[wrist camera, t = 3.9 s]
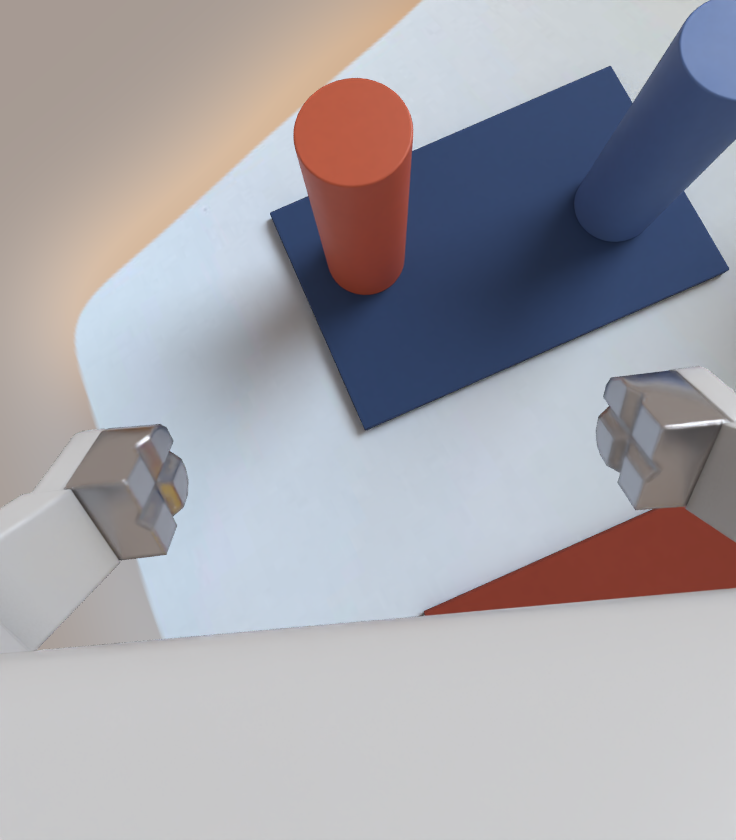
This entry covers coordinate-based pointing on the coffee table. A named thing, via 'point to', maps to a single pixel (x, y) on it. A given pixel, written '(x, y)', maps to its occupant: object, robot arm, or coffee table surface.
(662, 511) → the red mat
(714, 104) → the blue peg
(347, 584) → the coffee table surface
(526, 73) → the coffee table surface
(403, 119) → the red peg
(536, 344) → the blue mat
